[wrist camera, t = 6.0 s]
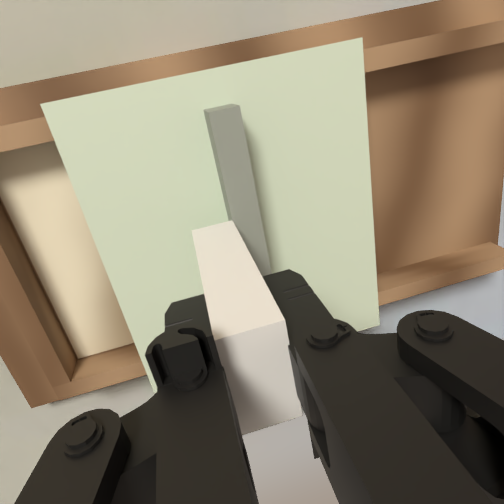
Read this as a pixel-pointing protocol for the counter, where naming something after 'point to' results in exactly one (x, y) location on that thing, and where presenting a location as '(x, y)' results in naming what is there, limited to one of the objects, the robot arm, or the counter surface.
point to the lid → (228, 179)
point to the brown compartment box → (381, 166)
